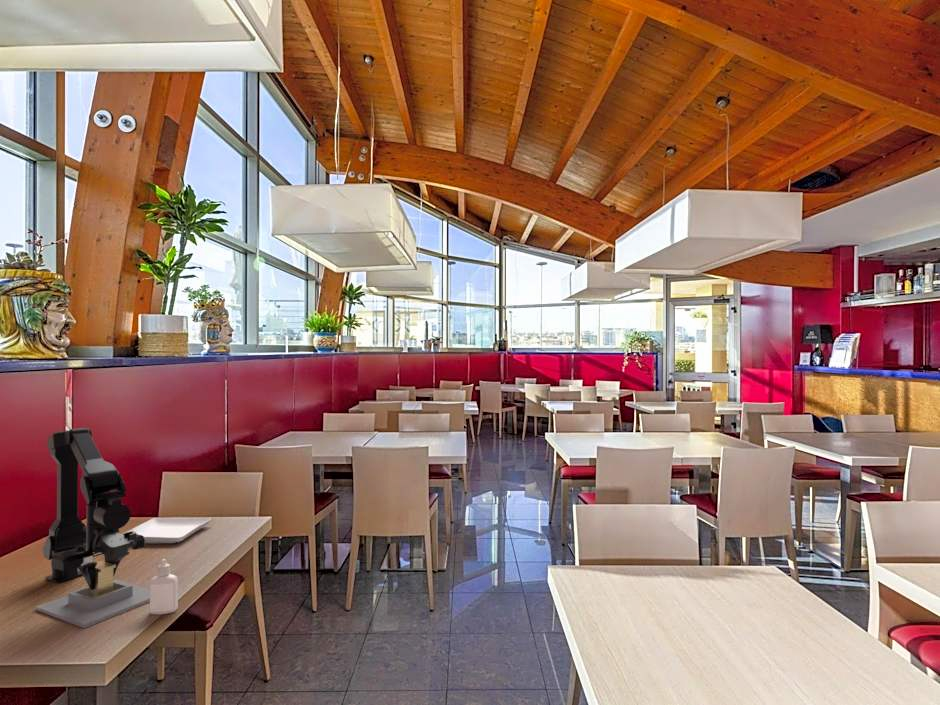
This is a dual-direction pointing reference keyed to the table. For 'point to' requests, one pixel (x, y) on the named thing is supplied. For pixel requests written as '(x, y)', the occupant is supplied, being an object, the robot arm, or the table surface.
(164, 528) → the salad plate
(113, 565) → the wooden lipped block
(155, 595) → the eye dropper bottle
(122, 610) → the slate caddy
